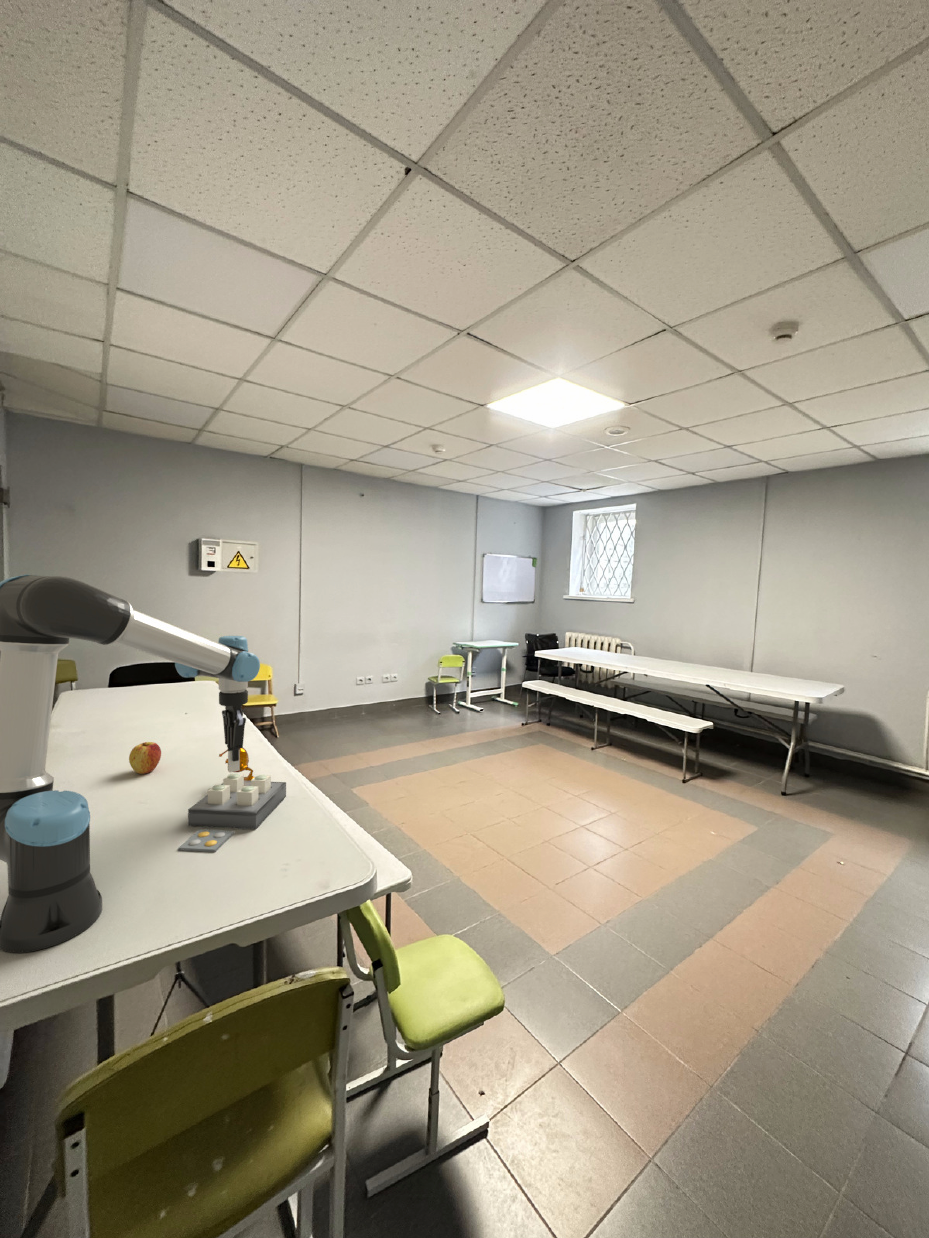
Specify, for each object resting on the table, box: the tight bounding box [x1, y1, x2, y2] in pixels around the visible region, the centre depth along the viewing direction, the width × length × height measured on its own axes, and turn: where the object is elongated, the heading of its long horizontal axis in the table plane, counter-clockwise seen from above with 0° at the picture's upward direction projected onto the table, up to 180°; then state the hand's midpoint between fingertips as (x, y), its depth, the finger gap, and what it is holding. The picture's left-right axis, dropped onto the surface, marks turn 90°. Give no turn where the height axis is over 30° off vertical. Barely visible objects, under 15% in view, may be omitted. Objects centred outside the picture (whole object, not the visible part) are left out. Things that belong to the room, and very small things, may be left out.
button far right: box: [251, 774, 272, 794], centre depth 143 cm, size 4×4×4 cm
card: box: [177, 828, 235, 853], centre depth 123 cm, size 9×9×1 cm
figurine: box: [218, 747, 255, 781], centre depth 158 cm, size 8×11×12 cm
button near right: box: [237, 786, 258, 806], centre depth 135 cm, size 4×4×4 cm
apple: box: [128, 741, 162, 775], centre depth 165 cm, size 9×9×10 cm
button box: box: [187, 780, 287, 830], centre depth 140 cm, size 20×18×4 cm
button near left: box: [207, 784, 230, 805], centre depth 136 cm, size 4×4×4 cm
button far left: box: [222, 773, 245, 792], centre depth 144 cm, size 4×4×4 cm
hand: (233, 770), depth 144 cm, fingers closed
